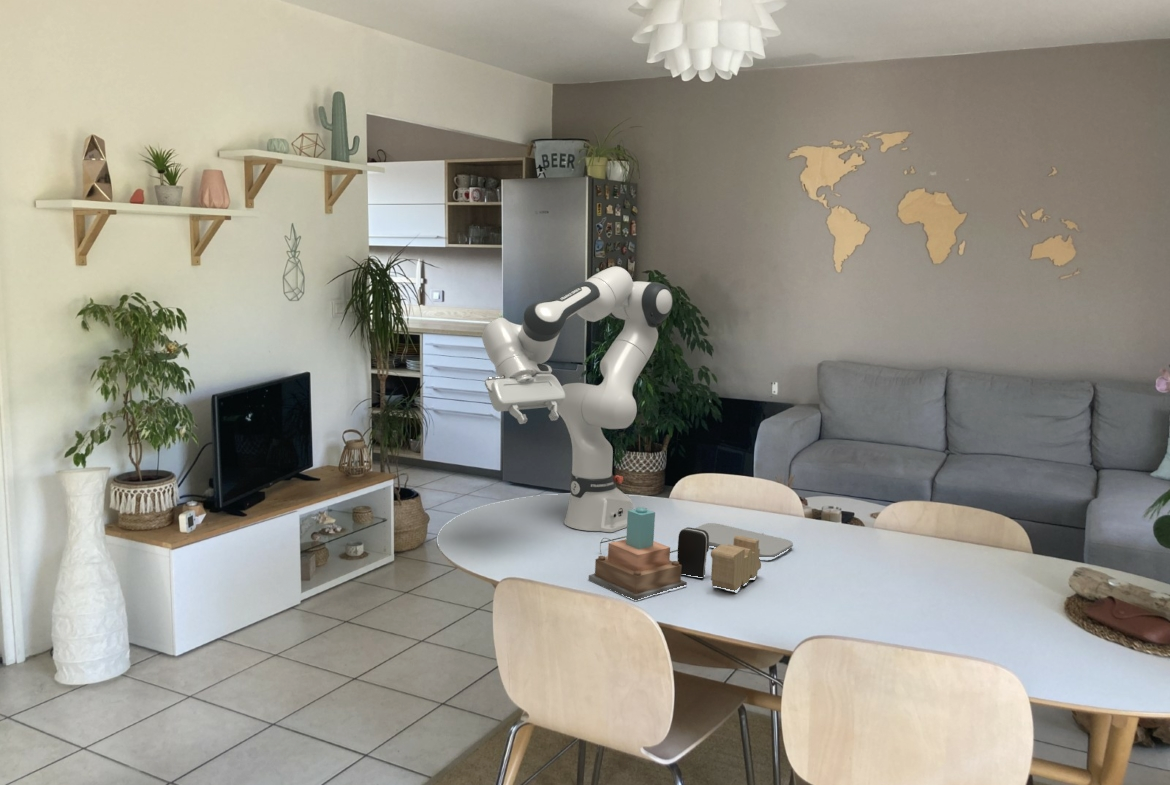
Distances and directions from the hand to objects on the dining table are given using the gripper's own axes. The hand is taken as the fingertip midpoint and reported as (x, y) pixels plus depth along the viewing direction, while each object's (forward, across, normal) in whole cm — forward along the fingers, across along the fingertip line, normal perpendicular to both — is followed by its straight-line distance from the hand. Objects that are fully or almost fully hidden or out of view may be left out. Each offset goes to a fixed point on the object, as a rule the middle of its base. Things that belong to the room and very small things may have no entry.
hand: (539, 420), depth 226 cm
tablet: (+39, +52, +10) cm, 66 cm away
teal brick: (+37, +9, -2) cm, 38 cm away
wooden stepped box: (+44, +9, +5) cm, 45 cm away
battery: (+46, +24, +3) cm, 52 cm away
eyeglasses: (+34, +24, +16) cm, 44 cm away
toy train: (+53, +28, -4) cm, 60 cm away
